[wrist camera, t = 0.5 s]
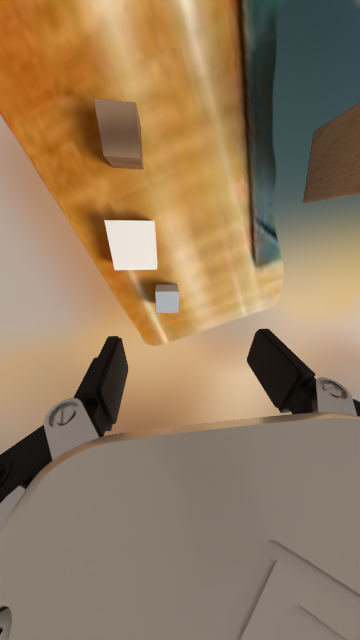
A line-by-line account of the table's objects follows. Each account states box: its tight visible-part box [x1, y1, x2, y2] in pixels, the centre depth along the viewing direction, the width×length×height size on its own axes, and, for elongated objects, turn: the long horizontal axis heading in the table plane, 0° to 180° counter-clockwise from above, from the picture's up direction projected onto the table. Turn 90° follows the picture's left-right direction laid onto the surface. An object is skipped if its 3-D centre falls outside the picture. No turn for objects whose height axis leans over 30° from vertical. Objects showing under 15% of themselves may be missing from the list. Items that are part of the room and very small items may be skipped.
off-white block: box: [104, 220, 157, 270], centre depth 30 cm, size 8×8×5 cm
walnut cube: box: [94, 98, 143, 169], centre depth 22 cm, size 5×5×5 cm
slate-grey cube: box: [155, 284, 179, 313], centre depth 36 cm, size 5×5×5 cm
